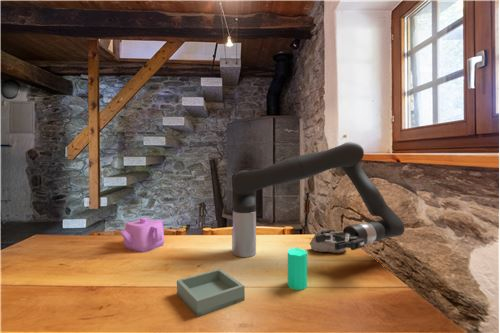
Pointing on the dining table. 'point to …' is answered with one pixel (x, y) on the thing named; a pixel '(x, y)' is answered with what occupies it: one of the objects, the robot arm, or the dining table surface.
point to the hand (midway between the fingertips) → (325, 242)
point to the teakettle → (143, 234)
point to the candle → (297, 268)
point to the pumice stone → (324, 244)
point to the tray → (210, 291)
